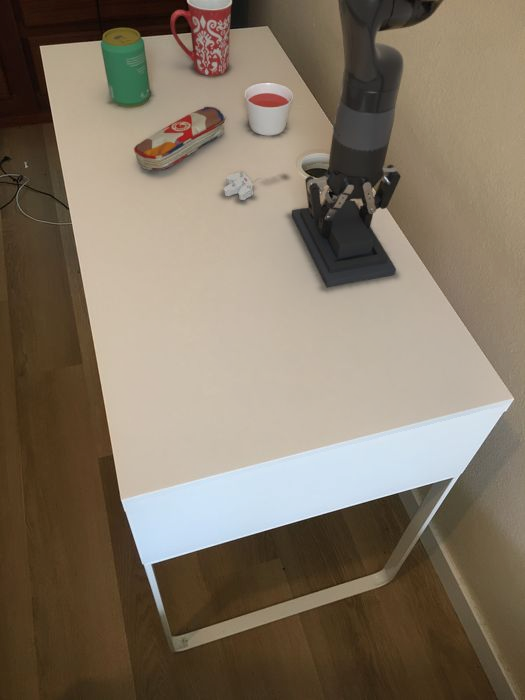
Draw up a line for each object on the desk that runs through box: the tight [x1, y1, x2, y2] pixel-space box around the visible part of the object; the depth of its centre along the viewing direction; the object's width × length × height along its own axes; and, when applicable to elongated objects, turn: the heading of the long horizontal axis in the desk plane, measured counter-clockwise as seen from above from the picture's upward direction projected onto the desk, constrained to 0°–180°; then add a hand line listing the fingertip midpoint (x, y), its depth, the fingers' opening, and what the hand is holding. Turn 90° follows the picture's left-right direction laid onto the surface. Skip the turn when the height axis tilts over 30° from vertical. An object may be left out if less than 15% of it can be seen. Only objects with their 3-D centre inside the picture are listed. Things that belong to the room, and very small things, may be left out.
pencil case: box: [133, 106, 226, 171], centre depth 103 cm, size 11×20×5 cm, turn 128°
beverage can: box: [100, 27, 151, 108], centre depth 111 cm, size 8×8×12 cm
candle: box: [244, 82, 294, 136], centre depth 108 cm, size 9×9×6 cm
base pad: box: [291, 199, 397, 288], centre depth 90 cm, size 17×11×2 cm, turn 16°
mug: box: [169, 0, 233, 77], centre depth 119 cm, size 13×9×14 cm
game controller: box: [223, 172, 287, 201], centre depth 99 cm, size 6×12×3 cm, turn 136°
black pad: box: [317, 200, 374, 258], centre depth 88 cm, size 10×6×2 cm, turn 16°
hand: (343, 231), depth 89 cm, fingers closed on black pad, 5 cm apart
